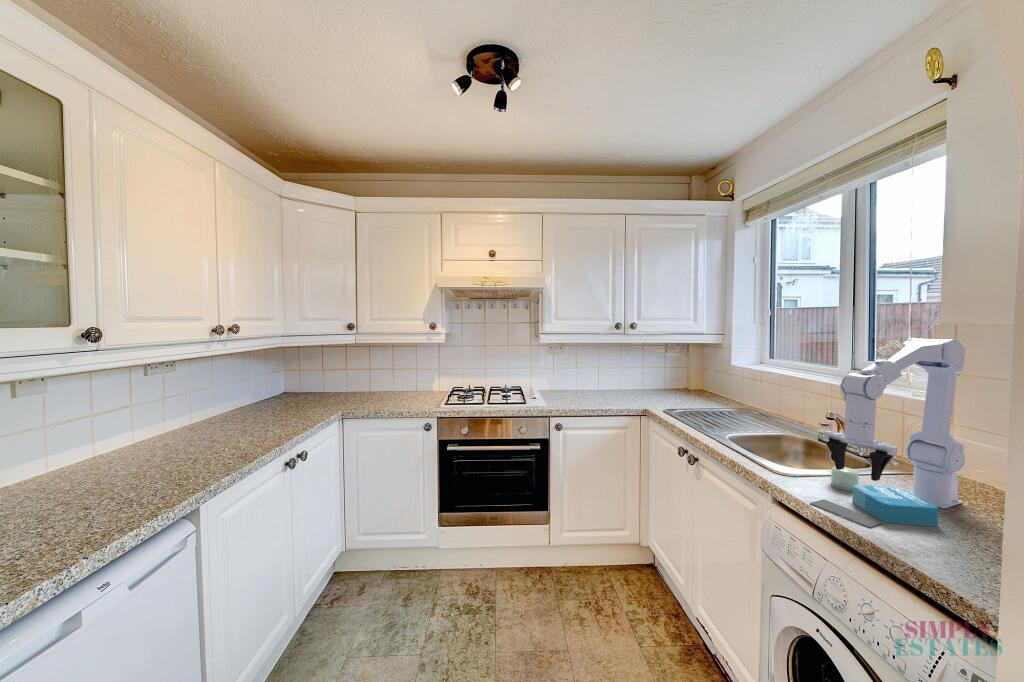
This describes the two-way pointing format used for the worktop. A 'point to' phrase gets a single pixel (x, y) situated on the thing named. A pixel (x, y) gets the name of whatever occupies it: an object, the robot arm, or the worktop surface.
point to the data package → (895, 505)
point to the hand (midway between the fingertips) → (857, 474)
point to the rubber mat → (847, 513)
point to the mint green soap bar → (844, 478)
